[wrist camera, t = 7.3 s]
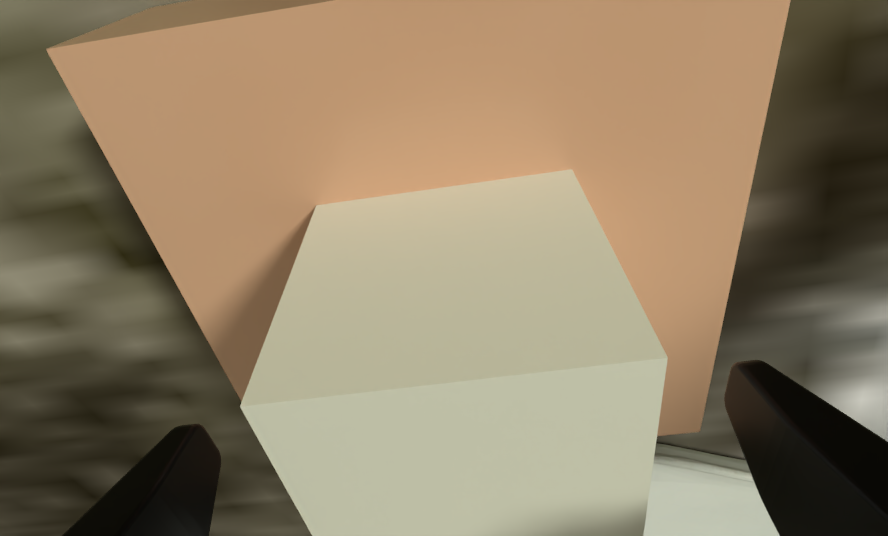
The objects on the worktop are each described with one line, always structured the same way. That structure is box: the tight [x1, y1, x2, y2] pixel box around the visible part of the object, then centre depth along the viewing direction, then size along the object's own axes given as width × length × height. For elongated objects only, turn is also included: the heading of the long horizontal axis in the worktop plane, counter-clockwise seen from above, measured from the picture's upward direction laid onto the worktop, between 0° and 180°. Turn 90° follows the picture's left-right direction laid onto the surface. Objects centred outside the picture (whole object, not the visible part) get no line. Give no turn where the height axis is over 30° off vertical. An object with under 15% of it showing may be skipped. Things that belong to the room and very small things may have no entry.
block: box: [240, 169, 668, 536], centre depth 10 cm, size 5×5×5 cm
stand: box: [46, 0, 790, 436], centre depth 13 cm, size 12×12×4 cm
